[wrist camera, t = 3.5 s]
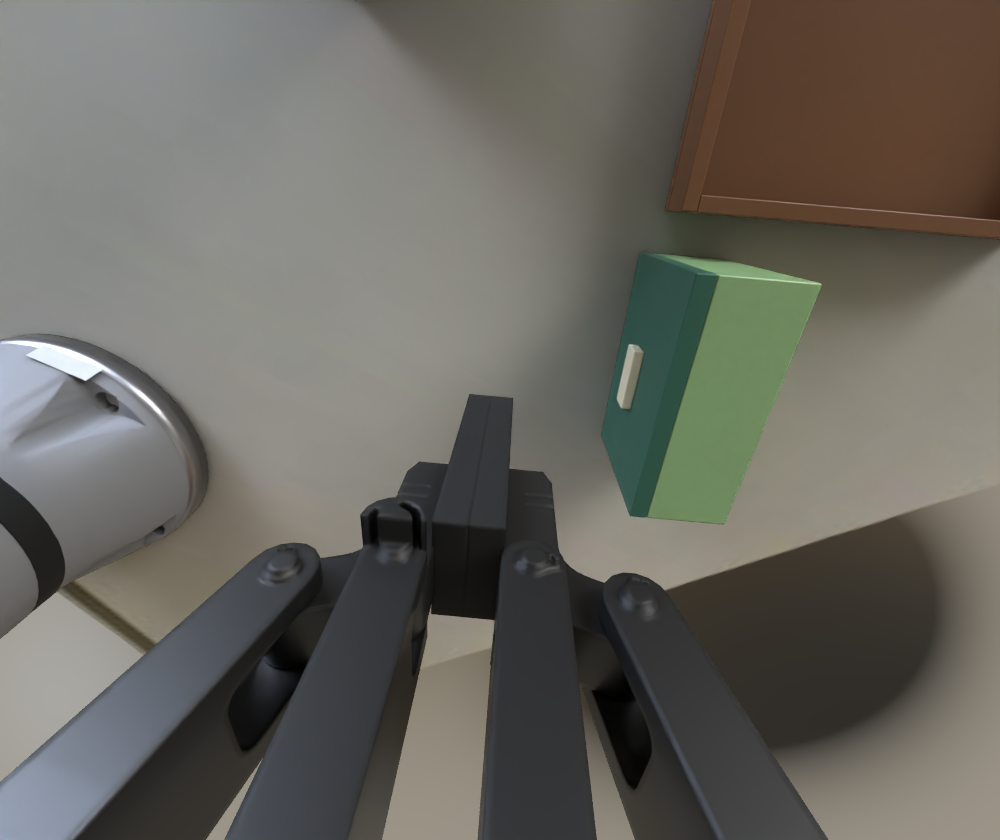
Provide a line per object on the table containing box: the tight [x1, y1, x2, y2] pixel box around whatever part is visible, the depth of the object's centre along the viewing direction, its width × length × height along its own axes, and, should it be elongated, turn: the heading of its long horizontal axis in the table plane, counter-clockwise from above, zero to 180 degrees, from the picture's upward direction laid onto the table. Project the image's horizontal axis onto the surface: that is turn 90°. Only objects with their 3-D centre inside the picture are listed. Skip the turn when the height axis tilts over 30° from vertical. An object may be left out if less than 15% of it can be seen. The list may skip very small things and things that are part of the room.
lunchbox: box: [601, 252, 822, 524], centre depth 21 cm, size 5×11×8 cm, turn 176°
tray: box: [665, 0, 1000, 240], centre depth 17 cm, size 17×15×2 cm
